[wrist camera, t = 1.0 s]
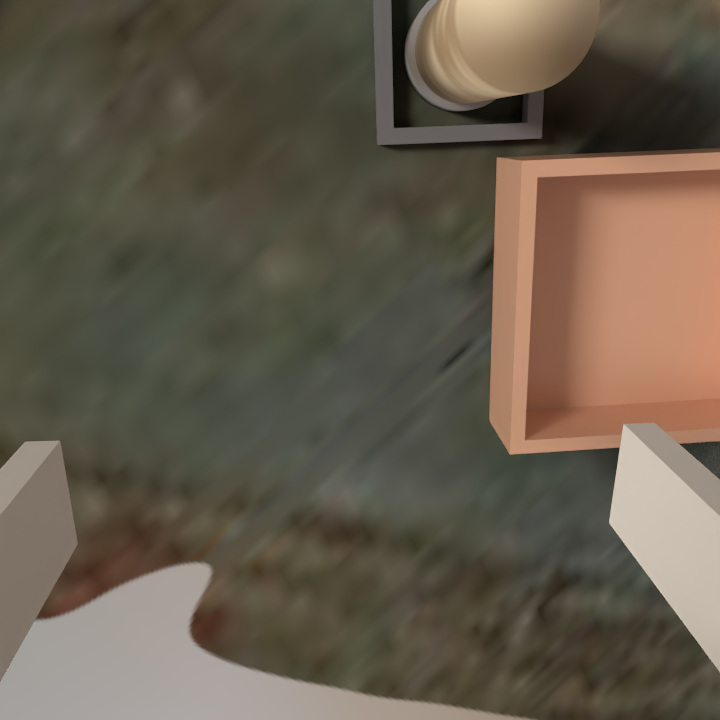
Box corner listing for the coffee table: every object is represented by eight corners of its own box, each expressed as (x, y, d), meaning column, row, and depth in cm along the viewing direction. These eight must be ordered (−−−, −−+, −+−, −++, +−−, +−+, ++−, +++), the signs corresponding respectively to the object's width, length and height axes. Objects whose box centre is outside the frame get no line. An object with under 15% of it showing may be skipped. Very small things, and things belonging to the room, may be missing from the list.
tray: (496, 157, 36) (521, 160, 31) (775, 145, 37) (836, 147, 32) (489, 420, 41) (509, 454, 37) (733, 405, 42) (782, 436, 37)
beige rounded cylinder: (402, -6, 33) (448, -79, 22) (513, -10, 33) (615, -83, 22) (404, 113, 35) (447, 104, 23) (509, 109, 35) (601, 98, 24)
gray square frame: (371, -40, 32) (373, -45, 31) (544, -45, 33) (551, -50, 32) (377, 144, 35) (378, 145, 34) (535, 138, 36) (541, 138, 35)
